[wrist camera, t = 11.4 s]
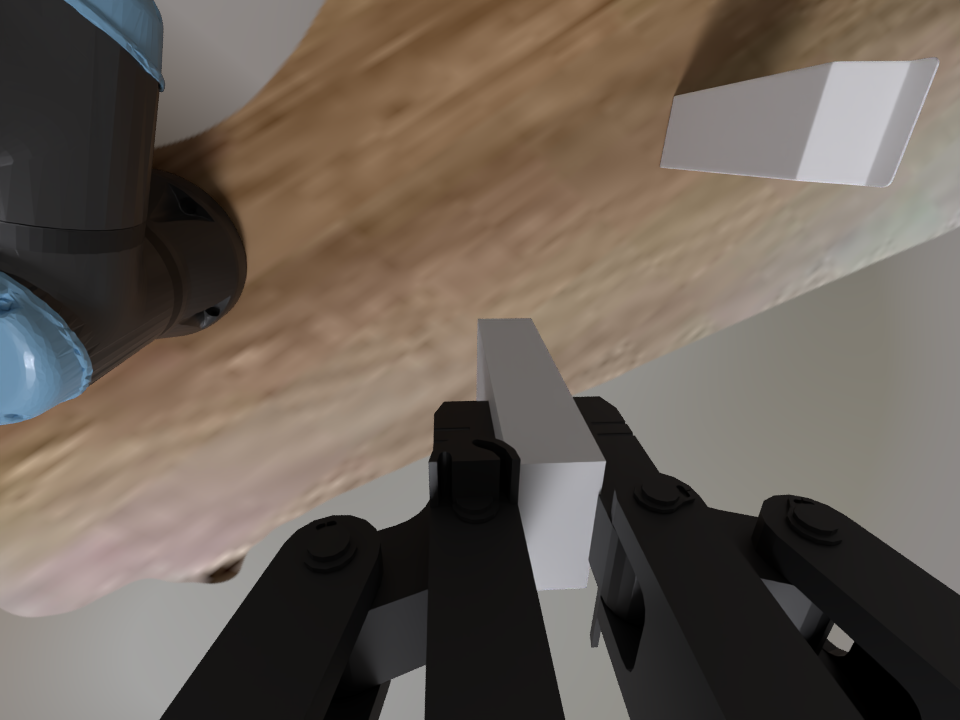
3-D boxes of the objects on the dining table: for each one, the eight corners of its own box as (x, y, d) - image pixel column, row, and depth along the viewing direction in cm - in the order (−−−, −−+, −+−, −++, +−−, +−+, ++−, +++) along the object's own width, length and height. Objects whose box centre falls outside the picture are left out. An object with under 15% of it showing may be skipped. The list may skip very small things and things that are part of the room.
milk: (735, 100, 43) (1001, 58, 23) (717, 172, 45) (943, 191, 25) (671, 95, 42) (886, 47, 22) (657, 168, 44) (838, 185, 24)
